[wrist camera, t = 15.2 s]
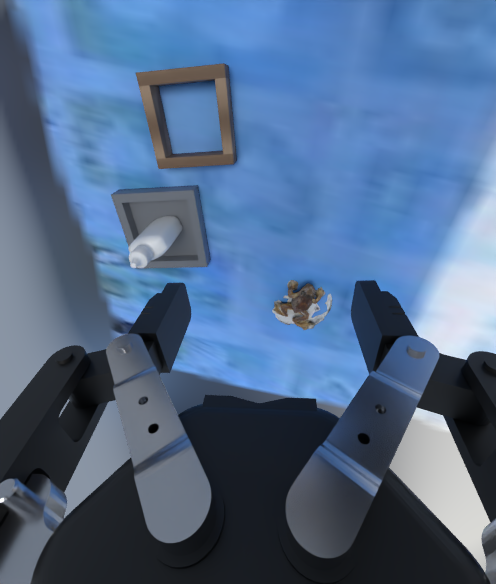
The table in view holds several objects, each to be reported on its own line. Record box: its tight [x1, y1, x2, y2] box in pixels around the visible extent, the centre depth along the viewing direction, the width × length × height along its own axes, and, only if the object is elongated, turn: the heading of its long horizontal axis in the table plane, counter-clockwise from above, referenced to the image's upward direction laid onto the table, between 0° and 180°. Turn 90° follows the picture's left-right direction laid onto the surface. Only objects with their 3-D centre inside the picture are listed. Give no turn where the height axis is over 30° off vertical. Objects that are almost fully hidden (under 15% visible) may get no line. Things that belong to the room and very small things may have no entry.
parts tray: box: [111, 185, 210, 268], centre depth 43 cm, size 12×12×2 cm
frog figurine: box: [272, 280, 332, 330], centre depth 49 cm, size 12×12×4 cm
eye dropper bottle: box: [129, 216, 183, 268], centre depth 39 cm, size 4×6×12 cm
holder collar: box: [136, 64, 237, 169], centre depth 34 cm, size 10×10×3 cm
